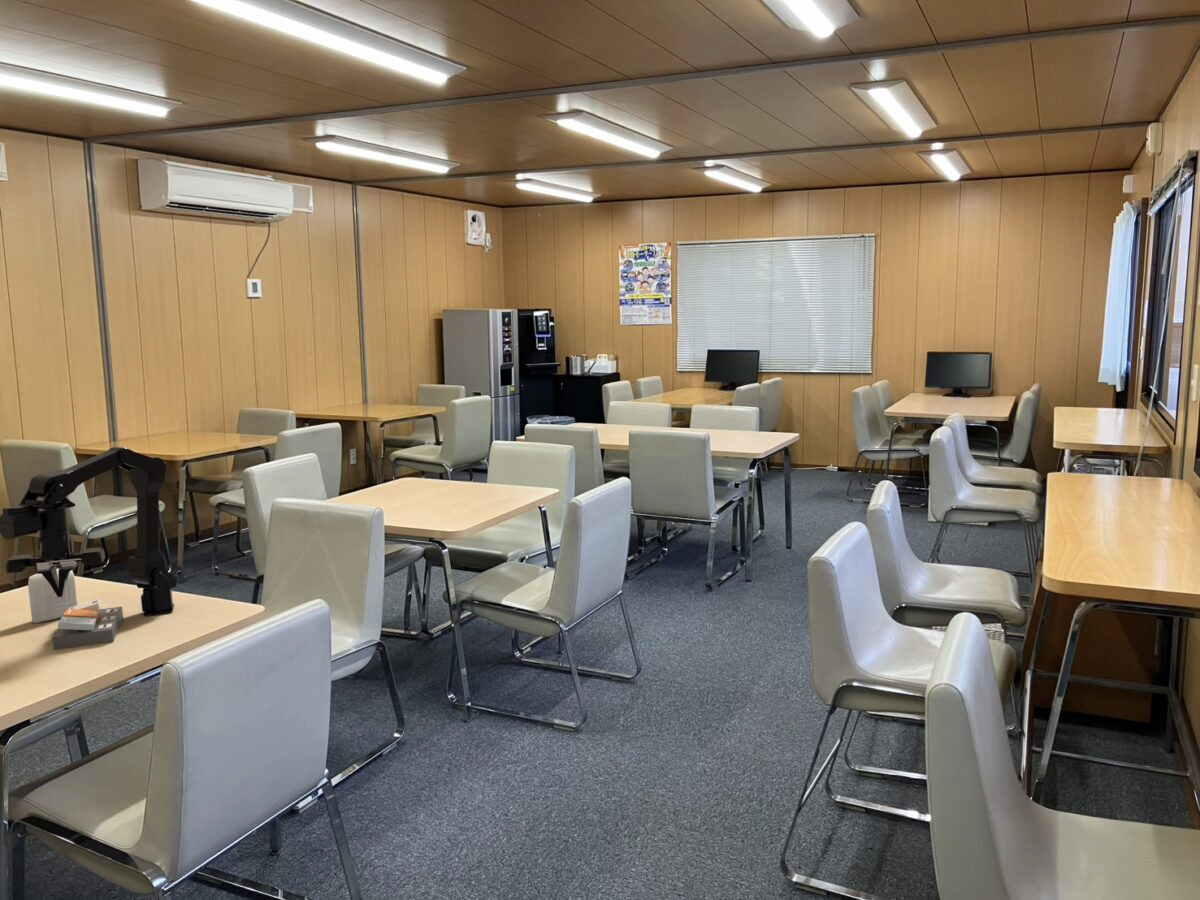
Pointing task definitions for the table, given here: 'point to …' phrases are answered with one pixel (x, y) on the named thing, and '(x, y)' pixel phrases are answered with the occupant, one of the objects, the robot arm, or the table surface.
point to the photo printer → (50, 598)
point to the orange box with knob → (82, 613)
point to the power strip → (91, 631)
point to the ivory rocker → (89, 605)
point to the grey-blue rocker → (77, 623)
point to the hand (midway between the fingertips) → (60, 596)
